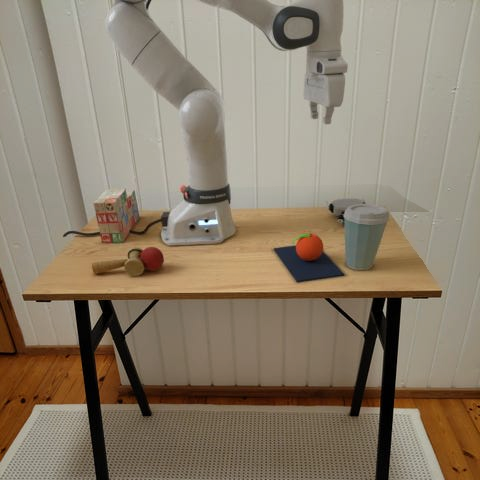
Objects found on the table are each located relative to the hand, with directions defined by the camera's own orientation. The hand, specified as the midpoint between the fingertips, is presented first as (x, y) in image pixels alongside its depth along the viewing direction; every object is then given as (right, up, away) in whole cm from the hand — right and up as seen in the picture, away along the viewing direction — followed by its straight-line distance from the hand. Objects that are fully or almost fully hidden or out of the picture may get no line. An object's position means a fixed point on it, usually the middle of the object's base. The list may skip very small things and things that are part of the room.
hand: (320, 121), depth 125 cm
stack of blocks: (-59, -27, +17) cm, 67 cm away
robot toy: (+12, -24, +17) cm, 31 cm away
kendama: (-51, -43, -8) cm, 67 cm away
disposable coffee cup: (+8, -41, -11) cm, 43 cm away
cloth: (-5, -40, -8) cm, 41 cm away
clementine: (-5, -39, -8) cm, 40 cm away
